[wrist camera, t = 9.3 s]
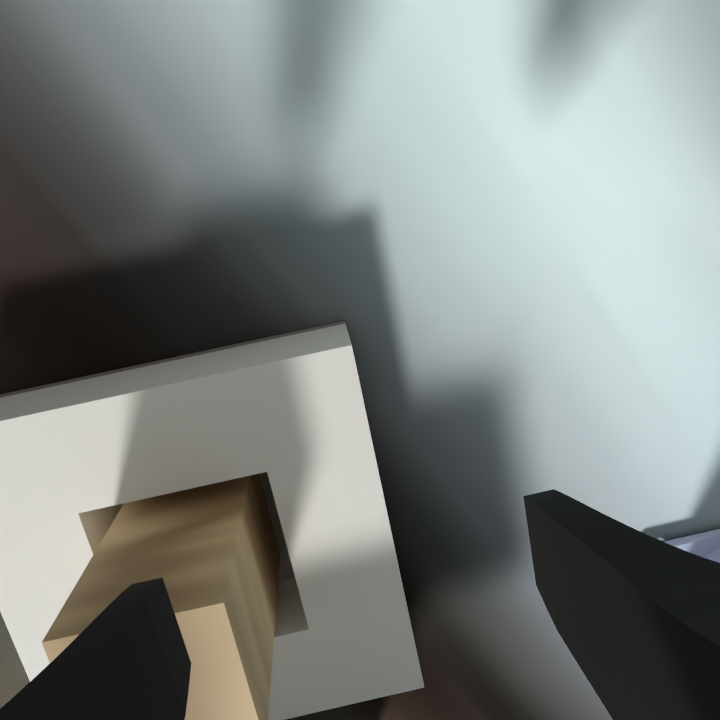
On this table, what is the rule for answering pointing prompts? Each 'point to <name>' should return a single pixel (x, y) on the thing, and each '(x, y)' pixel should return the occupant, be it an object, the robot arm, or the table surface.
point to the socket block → (208, 466)
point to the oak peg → (195, 588)
